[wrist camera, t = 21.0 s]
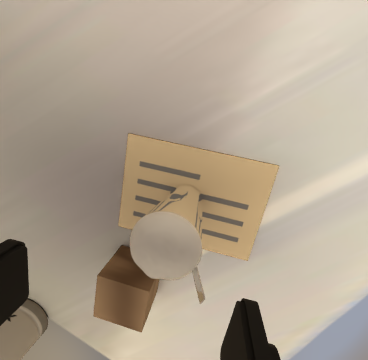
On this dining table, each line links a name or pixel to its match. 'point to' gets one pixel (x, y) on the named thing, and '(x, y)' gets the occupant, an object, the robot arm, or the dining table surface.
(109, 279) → the walnut block
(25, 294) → the robot arm
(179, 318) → the dining table surface
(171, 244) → the milkshake
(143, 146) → the letter
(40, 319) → the travel mug
